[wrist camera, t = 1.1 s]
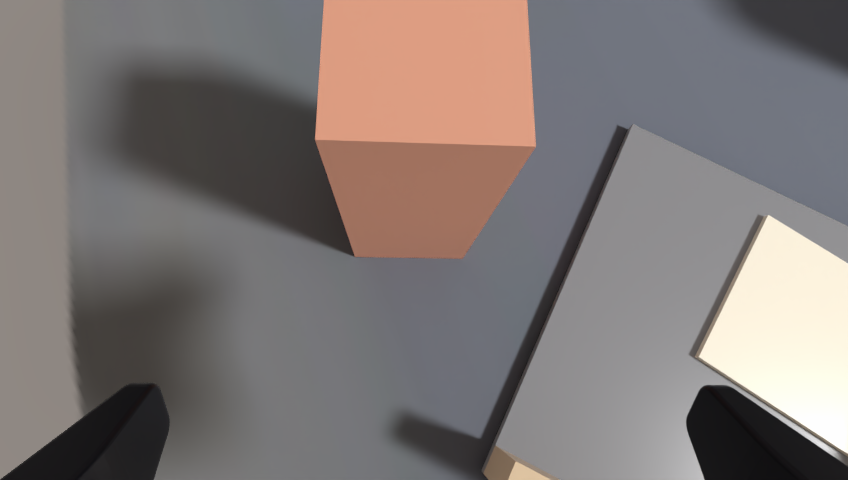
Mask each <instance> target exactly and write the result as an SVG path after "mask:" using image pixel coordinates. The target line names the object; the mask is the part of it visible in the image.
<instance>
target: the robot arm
mask: <svg viewBox="0 0 848 480" xmlns="http://www.w3.org/2000/svg"><path fill="white" fill-rule="evenodd" d="M169 423H170V421H169V415H168V412H167V408H166V405H165V402H164V399H163V396H162V393H161V390H160V388H159V386H158V385H157V384H155V383H130V384H128V385H126V386H124V387H123V388H121V389H120V390H119V391H117V392H116V393H115V394H113V395H112V396H111V397H109V398H108V399H107V400H105V401H104V402H103V403H101V404H100V405H99V406H97V407H96V408H95V409H93V410H92V411H91V412H89V413H88V414H87V415H85V416H84V417H83V418H81V419H80V420H79V421H77V422H76V423H75V424H73V425H72V426H71V427H70V428H68V429H67V430H65V431H64V432H63V433H61V434H60V435H59V436H57V437H56V438H55V439H53V440H52V441H51V442H50V443H48V444H47V445H46V446H44V447H43V448H42V449H40V450H39V451H37V452H36V453H35V454H34V455H32V456H31V457H30V458H28V459H27V460H26V461H24V462H23V463H22V464H20V465H19V466H18V467H16V468H15V469H14V470H12V471H11V472H10V473H8V474H7V475H6V476H4V477H3V478H2V479H0V480H154V477H155V474H156V471H157V467H158V464H159V461H160V457H161V454H162V451H163V448H164V444H165V441H166V438H167V435H168V431H169ZM686 427H687V432H688V435H689V438H690V440H691V443H692V446H693V449H694V452H695V454H696V457H697V460H698V463H699V466H700V468H701V471H702V474H703V477H704V480H848V466H847V465H845V464H844V463H842V462H841V461H840V460H838V459H837V458H835V457H834V456H832V455H831V454H829V453H828V452H826V451H825V450H823V449H822V448H820V447H819V446H818V445H816V444H815V443H813V442H812V441H810V440H809V439H807V438H806V437H804V436H803V435H801V434H800V433H798V432H797V431H796V430H794V429H793V428H791V427H790V426H788V425H787V424H785V423H784V422H782V421H781V420H779V419H778V418H776V417H775V416H774V415H772V414H771V413H769V412H768V411H766V410H765V409H763V408H762V407H760V406H759V405H757V404H756V403H754V402H753V401H752V400H750V399H749V398H747V397H746V396H744V395H743V394H741V393H740V392H738V391H737V390H735V389H734V388H732V387H730V386H727V385H704V386H703V387H701V388H700V390H699V391H698V394H697V396H696V398H695V400H694V402H693V404H692V406H691V408H690V410H689V412H688V415H687V418H686Z"/></svg>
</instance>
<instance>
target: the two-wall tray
mask: <svg viewBox="0 0 848 480" xmlns="http://www.w3.org/2000/svg"><path fill="white" fill-rule="evenodd" d="M704 385H727V386H730V387H732V388H734V389H735V390H737V391H738V392H740V393H741V394H743V395H744V396H746V397H747V398H749V399H750V400H752V401H753V402H754V403H756V404H757V405H759V406H760V407H762V408H763V409H765V410H766V411H768V412H769V413H771V414H772V415H774V416H775V417H776V418H778V419H779V420H781V421H782V422H784V423H785V424H787V425H788V426H790V427H791V428H793V429H794V430H796V431H797V432H798V433H800V434H801V435H803V436H804V437H806V438H807V439H809V440H810V441H812V442H813V443H815V444H816V445H818V446H819V447H820V448H822V449H823V450H825V451H826V452H828V453H829V454H831V455H832V456H834V457H835V458H837V459H838V460H840V461H841V462H842V463H844V464H845V465H847V466H848V226H846V225H844V224H842V223H840V222H838V221H836V220H834V219H832V218H830V217H827V216H825V215H823V214H821V213H819V212H817V211H815V210H813V209H811V208H809V207H806V206H804V205H802V204H800V203H798V202H796V201H794V200H792V199H790V198H787V197H785V196H783V195H781V194H779V193H777V192H775V191H773V190H771V189H769V188H766V187H764V186H762V185H760V184H758V183H756V182H754V181H752V180H750V179H747V178H745V177H743V176H741V175H739V174H737V173H735V172H733V171H731V170H729V169H726V168H724V167H722V166H720V165H718V164H716V163H714V162H712V161H710V160H707V159H705V158H703V157H701V156H699V155H697V154H695V153H693V152H691V151H689V150H686V149H684V148H682V147H680V146H678V145H676V144H674V143H672V142H670V141H667V140H665V139H663V138H661V137H659V136H657V135H655V134H653V133H651V132H648V131H646V130H644V129H642V128H640V127H638V126H636V125H634V124H632V125H631V126H630V127H629V129H628V130H627V133H626V135H625V137H624V140H623V142H622V144H621V147H620V149H619V151H618V154H617V156H616V158H615V161H614V163H613V165H612V168H611V170H610V172H609V175H608V177H607V179H606V182H605V184H604V186H603V189H602V191H601V193H600V196H599V198H598V200H597V203H596V205H595V207H594V210H593V212H592V214H591V217H590V219H589V221H588V223H587V226H586V228H585V230H584V233H583V235H582V237H581V240H580V242H579V244H578V247H577V249H576V251H575V254H574V256H573V258H572V261H571V263H570V265H569V268H568V270H567V272H566V275H565V277H564V279H563V282H562V284H561V286H560V289H559V291H558V293H557V296H556V298H555V300H554V303H553V305H552V307H551V310H550V312H549V314H548V316H547V319H546V321H545V323H544V326H543V328H542V330H541V333H540V335H539V337H538V340H537V342H536V344H535V347H534V349H533V351H532V354H531V356H530V358H529V361H528V363H527V365H526V368H525V370H524V372H523V375H522V377H521V379H520V382H519V384H518V386H517V389H516V391H515V393H514V396H513V398H512V400H511V403H510V405H509V407H508V410H507V412H506V414H505V416H504V419H503V421H502V423H501V426H500V428H499V430H498V433H497V435H496V437H495V440H494V442H493V444H492V447H491V449H490V451H489V454H488V456H487V458H486V461H485V463H484V465H483V468H482V470H481V471H482V473H483V474H484V475H485V476H486V477H487V479H488V480H704V477H703V474H702V471H701V468H700V466H699V463H698V460H697V457H696V454H695V452H694V449H693V446H692V443H691V440H690V438H689V435H688V432H687V427H686V418H687V415H688V412H689V410H690V408H691V406H692V404H693V402H694V400H695V398H696V396H697V394H698V391H699V390H700V388H701V387H703V386H704Z"/></svg>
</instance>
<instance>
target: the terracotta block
mask: <svg viewBox="0 0 848 480" xmlns="http://www.w3.org/2000/svg"><path fill="white" fill-rule="evenodd" d="M315 141H316V144H317V147H318V150H319V153H320V156H321V159H322V162H323V165H324V167H325V170H326V173H327V176H328V179H329V182H330V185H331V188H332V191H333V194H334V197H335V200H336V203H337V206H338V209H339V211H340V214H341V217H342V220H343V223H344V226H345V229H346V232H347V235H348V238H349V241H350V244H351V247H352V250H353V253H354V255H355V257H391V258H451V259H463V257H464V256H465V254H466V253H467V251H468V250H469V248H470V247H471V245H472V243H473V242H474V240H475V239H476V237H477V236H478V234H479V233H480V231H481V230H482V228H483V227H484V225H485V224H486V222H487V221H488V219H489V217H490V216H491V214H492V213H493V211H494V210H495V208H496V207H497V205H498V204H499V202H500V201H501V199H502V198H503V196H504V194H505V193H506V191H507V190H508V188H509V187H510V185H511V184H512V182H513V181H514V179H515V178H516V176H517V175H518V173H519V172H520V170H521V168H522V167H523V165H524V164H525V162H526V161H527V159H528V158H529V156H530V155H531V153H532V152H533V150H534V149H535V147H536V141H535V125H534V108H533V91H532V75H531V58H530V41H529V24H528V8H527V0H324V10H323V25H322V41H321V56H320V72H319V87H318V102H317V118H316V133H315Z"/></svg>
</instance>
